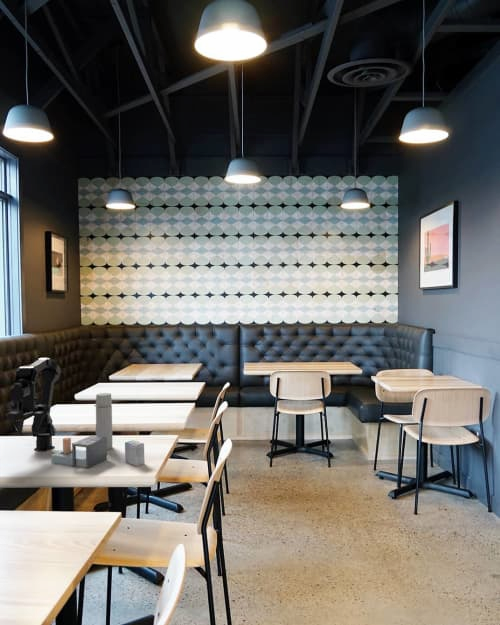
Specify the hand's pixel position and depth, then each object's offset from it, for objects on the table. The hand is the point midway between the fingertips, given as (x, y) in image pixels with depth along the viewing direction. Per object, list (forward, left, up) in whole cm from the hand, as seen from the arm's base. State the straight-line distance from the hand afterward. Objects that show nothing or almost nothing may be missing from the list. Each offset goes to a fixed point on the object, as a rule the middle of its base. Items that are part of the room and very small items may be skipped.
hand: (28, 432), depth 210 cm
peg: (-6, +15, -12) cm, 20 cm away
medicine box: (-12, +45, -12) cm, 48 cm away
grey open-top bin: (-6, +27, -12) cm, 30 cm away
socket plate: (-6, +20, -12) cm, 25 cm away
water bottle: (-25, +19, -12) cm, 34 cm away
